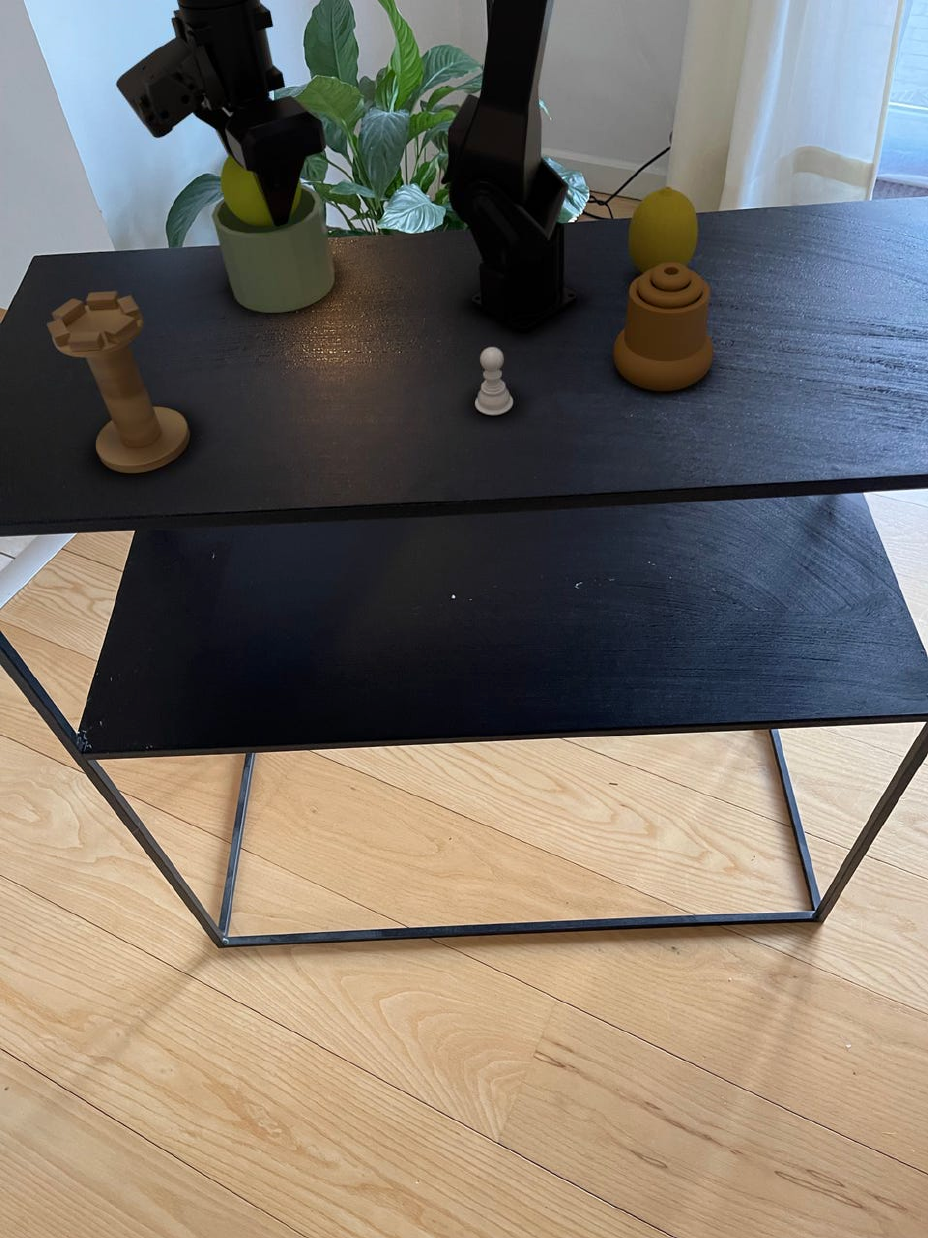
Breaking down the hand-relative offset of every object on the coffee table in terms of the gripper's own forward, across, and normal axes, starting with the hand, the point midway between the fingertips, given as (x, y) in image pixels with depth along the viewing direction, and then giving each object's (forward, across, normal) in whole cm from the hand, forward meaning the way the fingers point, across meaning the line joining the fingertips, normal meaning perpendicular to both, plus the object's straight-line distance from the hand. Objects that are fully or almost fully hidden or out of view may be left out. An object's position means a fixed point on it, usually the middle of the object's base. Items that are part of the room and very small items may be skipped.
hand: (266, 207), depth 81 cm
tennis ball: (-2, 0, 0) cm, 2 cm away
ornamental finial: (+7, +28, +20) cm, 35 cm away
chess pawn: (+7, +25, +7) cm, 27 cm away
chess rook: (+7, +15, -17) cm, 23 cm away
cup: (+7, 0, 0) cm, 7 cm away
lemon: (+7, +18, +27) cm, 33 cm away
